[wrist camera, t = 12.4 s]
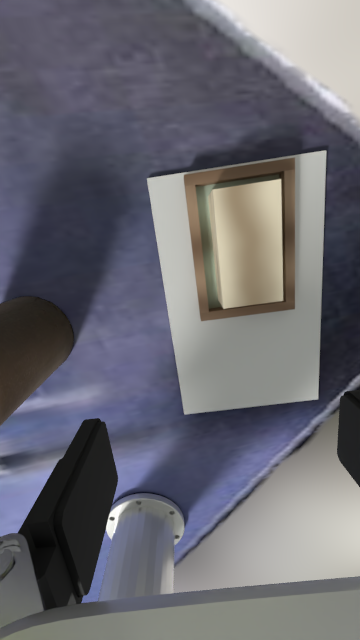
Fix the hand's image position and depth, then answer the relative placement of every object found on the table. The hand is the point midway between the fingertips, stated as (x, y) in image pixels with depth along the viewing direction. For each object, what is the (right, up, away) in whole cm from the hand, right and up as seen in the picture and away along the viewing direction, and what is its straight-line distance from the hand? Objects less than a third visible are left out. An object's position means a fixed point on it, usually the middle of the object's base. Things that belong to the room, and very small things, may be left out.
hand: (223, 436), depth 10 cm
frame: (+5, +13, +18) cm, 23 cm away
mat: (+6, +7, +20) cm, 22 cm away
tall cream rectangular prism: (+5, +13, +18) cm, 22 cm away
